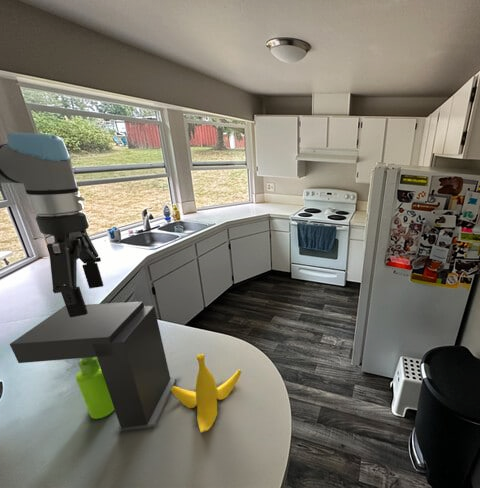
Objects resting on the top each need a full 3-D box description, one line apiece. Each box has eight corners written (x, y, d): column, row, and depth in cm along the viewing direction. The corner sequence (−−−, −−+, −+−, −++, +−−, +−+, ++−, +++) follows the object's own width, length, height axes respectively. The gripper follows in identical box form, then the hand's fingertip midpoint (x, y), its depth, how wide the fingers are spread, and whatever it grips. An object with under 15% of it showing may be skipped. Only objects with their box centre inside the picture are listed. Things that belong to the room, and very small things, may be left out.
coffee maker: (54, 439, 60) (9, 344, 51) (95, 388, 73) (65, 305, 64) (154, 427, 64) (129, 335, 54) (176, 380, 77) (159, 300, 67)
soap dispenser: (91, 403, 69) (69, 344, 62) (121, 395, 71) (103, 338, 65) (80, 423, 64) (55, 362, 57) (113, 414, 66) (93, 355, 59)
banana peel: (173, 394, 72) (162, 348, 67) (242, 376, 79) (237, 333, 73) (161, 455, 58) (146, 402, 52) (246, 427, 64) (241, 377, 59)
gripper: (61, 225, 44) (94, 325, 51) (99, 202, 65) (119, 275, 72) (-1, 229, 41) (43, 336, 48) (60, 203, 61) (84, 280, 68)
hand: (88, 299), depth 60 cm, fingers open, 13 cm apart
